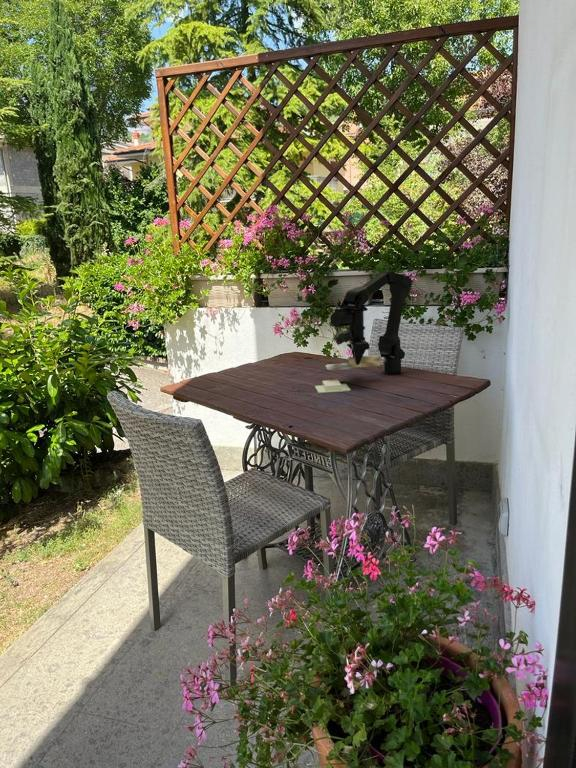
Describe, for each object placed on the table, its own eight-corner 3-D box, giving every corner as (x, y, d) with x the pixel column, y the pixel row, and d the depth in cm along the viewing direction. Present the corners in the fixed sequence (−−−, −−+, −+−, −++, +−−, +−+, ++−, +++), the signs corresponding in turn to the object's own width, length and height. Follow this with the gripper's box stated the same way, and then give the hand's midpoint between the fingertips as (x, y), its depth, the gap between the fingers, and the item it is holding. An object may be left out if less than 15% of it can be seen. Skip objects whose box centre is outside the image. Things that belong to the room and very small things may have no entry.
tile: (337, 379, 217) (341, 385, 210) (337, 383, 218) (341, 389, 210) (322, 380, 217) (325, 386, 209) (322, 384, 217) (325, 390, 210)
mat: (345, 384, 217) (345, 383, 217) (350, 390, 209) (350, 389, 209) (315, 386, 216) (315, 385, 216) (318, 393, 208) (318, 392, 208)
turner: (377, 362, 223) (377, 354, 222) (381, 366, 216) (381, 357, 215) (324, 366, 221) (324, 357, 220) (327, 370, 214) (327, 361, 214)
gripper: (331, 321, 223) (332, 359, 227) (339, 329, 205) (340, 370, 209) (359, 319, 224) (359, 358, 228) (369, 327, 206) (370, 368, 210)
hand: (356, 363), depth 218 cm, fingers closed on turner, 3 cm apart
